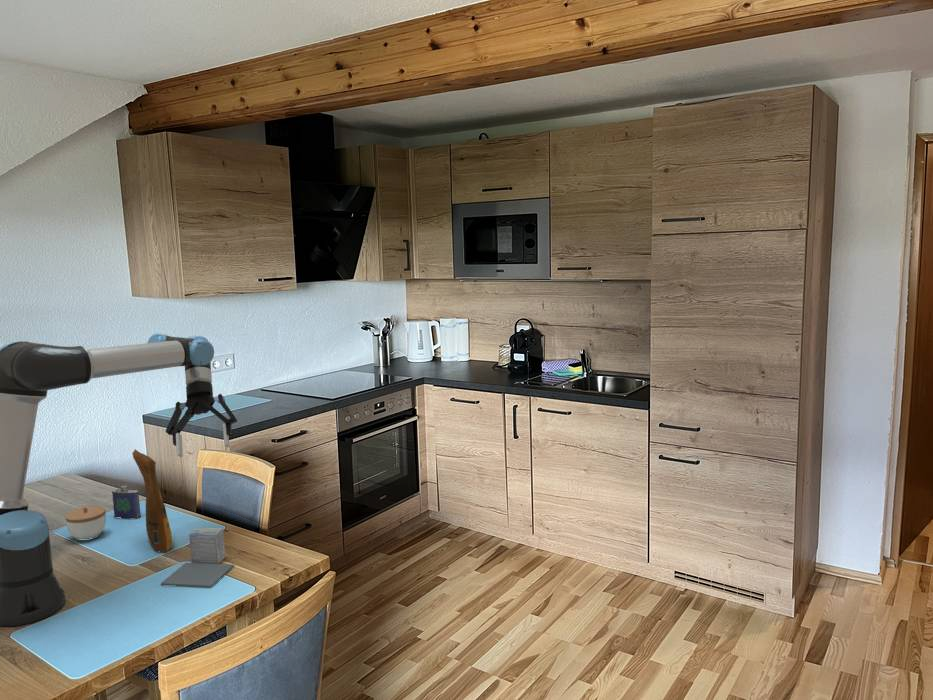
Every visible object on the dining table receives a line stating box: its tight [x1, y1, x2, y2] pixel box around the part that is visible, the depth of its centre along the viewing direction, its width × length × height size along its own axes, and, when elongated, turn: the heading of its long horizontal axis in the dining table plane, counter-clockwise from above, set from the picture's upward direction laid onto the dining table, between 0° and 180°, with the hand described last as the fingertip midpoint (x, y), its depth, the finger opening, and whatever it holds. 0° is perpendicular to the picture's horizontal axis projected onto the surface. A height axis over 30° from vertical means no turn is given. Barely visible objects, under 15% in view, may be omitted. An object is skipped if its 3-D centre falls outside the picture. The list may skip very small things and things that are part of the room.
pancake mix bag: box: [132, 448, 173, 553], centre depth 203 cm, size 7×19×28 cm, turn 34°
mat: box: [160, 561, 235, 588], centre depth 183 cm, size 12×14×1 cm
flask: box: [111, 484, 142, 519], centre depth 226 cm, size 9×3×11 cm, turn 79°
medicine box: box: [188, 527, 226, 564], centre depth 192 cm, size 8×4×9 cm, turn 84°
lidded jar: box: [65, 506, 107, 540], centre depth 211 cm, size 11×11×9 cm
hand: (203, 450), depth 203 cm, fingers open, 13 cm apart
